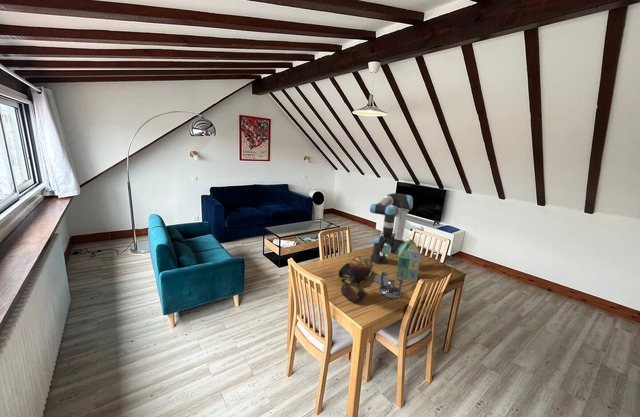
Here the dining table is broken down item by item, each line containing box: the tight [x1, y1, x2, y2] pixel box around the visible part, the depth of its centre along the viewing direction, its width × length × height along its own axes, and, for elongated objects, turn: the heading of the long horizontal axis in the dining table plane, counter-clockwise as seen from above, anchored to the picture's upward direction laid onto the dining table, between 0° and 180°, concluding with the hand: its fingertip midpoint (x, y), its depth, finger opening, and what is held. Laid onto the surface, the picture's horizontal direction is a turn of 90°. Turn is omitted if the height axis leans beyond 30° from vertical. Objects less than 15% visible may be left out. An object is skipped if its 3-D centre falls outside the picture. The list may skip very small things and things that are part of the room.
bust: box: [340, 255, 374, 304], centre depth 195 cm, size 21×23×30 cm
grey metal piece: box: [379, 271, 404, 300], centre depth 202 cm, size 16×16×14 cm
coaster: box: [370, 274, 394, 286], centre depth 221 cm, size 13×13×1 cm
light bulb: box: [383, 244, 391, 258], centre depth 214 cm, size 11×7×7 cm, turn 1°
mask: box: [337, 262, 375, 280], centre depth 225 cm, size 25×6×30 cm
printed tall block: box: [396, 238, 422, 282], centre depth 228 cm, size 17×16×30 cm
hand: (384, 254), depth 215 cm, fingers closed on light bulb, 7 cm apart
